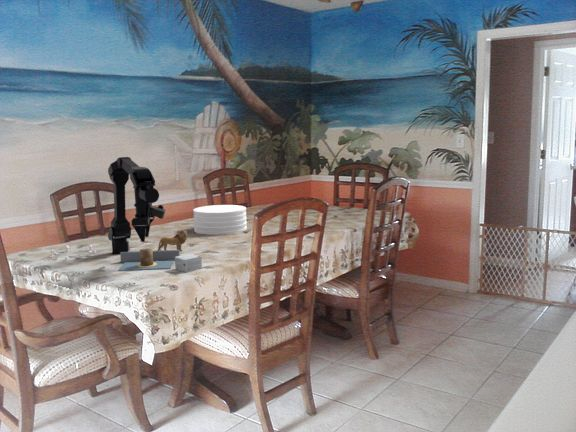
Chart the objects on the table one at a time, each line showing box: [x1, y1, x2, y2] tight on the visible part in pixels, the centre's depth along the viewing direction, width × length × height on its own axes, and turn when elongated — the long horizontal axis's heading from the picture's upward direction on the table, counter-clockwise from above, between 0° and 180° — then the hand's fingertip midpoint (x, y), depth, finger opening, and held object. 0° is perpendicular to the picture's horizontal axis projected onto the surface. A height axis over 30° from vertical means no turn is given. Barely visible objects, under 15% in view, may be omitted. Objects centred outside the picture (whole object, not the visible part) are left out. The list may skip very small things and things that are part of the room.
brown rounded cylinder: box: [139, 248, 154, 266], centre depth 222 cm, size 5×5×6 cm
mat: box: [117, 260, 175, 272], centre depth 223 cm, size 20×12×1 cm, turn 95°
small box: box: [174, 253, 203, 273], centre depth 217 cm, size 8×8×5 cm
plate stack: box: [192, 204, 248, 236], centre depth 297 cm, size 28×28×12 cm
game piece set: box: [49, 244, 98, 261], centre depth 245 cm, size 19×20×4 cm
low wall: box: [119, 249, 181, 263], centre depth 232 cm, size 24×1×4 cm, turn 95°
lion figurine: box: [156, 229, 188, 252], centre depth 248 cm, size 15×5×9 cm, turn 121°
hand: (145, 239), depth 221 cm, fingers open, 9 cm apart
